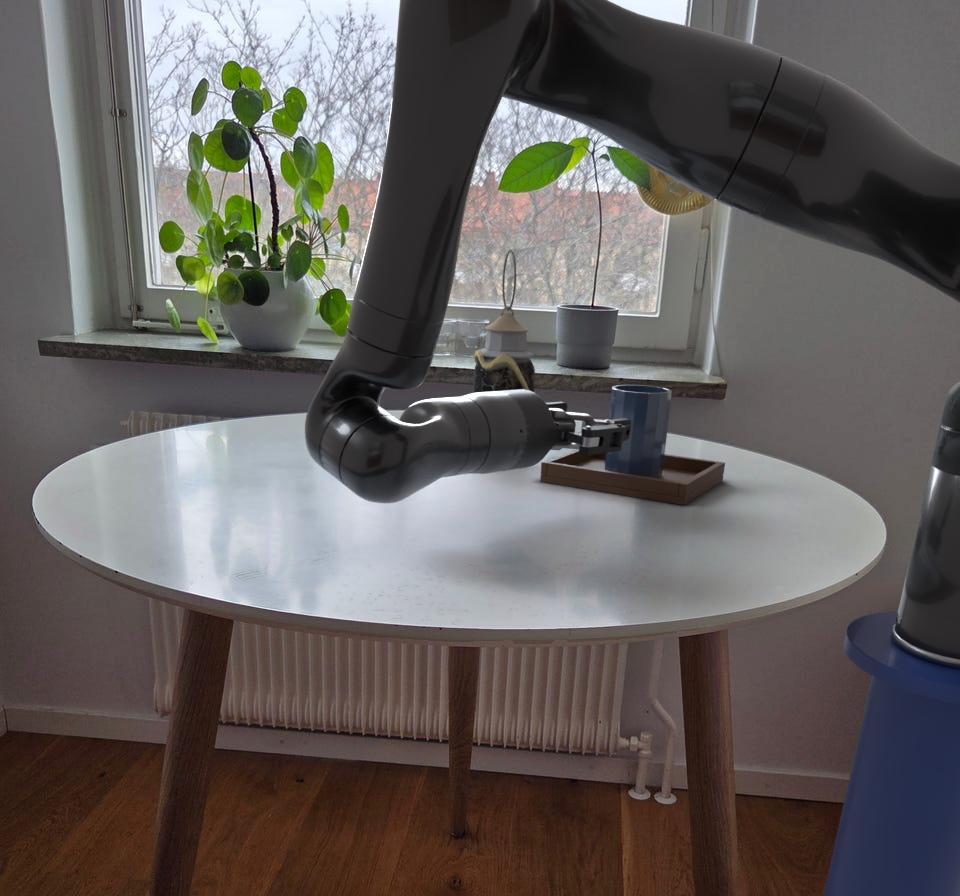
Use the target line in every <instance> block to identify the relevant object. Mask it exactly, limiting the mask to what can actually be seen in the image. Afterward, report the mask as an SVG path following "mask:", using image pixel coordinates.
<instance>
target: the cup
mask: <svg viewBox="0 0 960 896" xmlns="http://www.w3.org/2000/svg"><path fill="white" fill-rule="evenodd" d="M610 392H611V394H610V403H609V404H610V405H609V413H608V414H609V415H608V417H609V418H608V420H613V419H622V418H625V419H629V420H631V424H632V427H631V433H630V438H629V439H627V440H626V441H623V443H622V448H621V451H617V452H609V453H606V458H605V471H611V472H618V473H624V474H631V475H637V476H644V477H650V478H657V479H660V478H661V477H662V472H663V464H664V455H665V454H666V446H667V437H668V427H669V419H670V413H671V412H670V411H671V403H672V393H673V391H672V390H671V389H669V388H667V387H661V386H657V385H655V386H654V385H643V384H619V385H617V384H616V385H613V386H611V391H610Z"/></svg>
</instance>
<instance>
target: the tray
mask: <svg viewBox="0 0 960 896" xmlns="http://www.w3.org/2000/svg"><path fill="white" fill-rule="evenodd" d="M605 458H606V453H601V454H593V455H587V456H584V455H582V454H580V453H579V449H573V450H570V451H568V452H566V453H563V454H560V455H557V456H555V457H552V458H549V459H547V460H544V461H541V464H540V465H541V466H540V480H539V481H540V482H541V483H548V484H553V485H558V486H559V485H560V486H565V487H572V488H577V489H584V490H590V491H596V492H603V493H608V494H614V495H620V496H625V497H632V498H636V499H637V498H639V499H644V500H648V501H649V500H650V501H656V502H662V503H668V504H674V505H680V506H686V505H687V504H689V503H690V502H691V501H693V500H695V499H696V498H698V497H700V496H701V495H703V494H704V493H706V492H708V491H709V490H711V489H713V487H715V486H717V485H719V484H720V483H722V482H723V481H724V474H725V467H726V462H723V461H716V460H709V459H702V458H696V457H690V456H689V457H688V456H681V455H674V454H666V453H665V455H664V464H663V472H662V477H661V478H660V479H657V478H650V477H644V476H637V475H631V474H624V473H618V472H611V471H605Z"/></svg>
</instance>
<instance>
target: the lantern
mask: <svg viewBox="0 0 960 896" xmlns="http://www.w3.org/2000/svg"><path fill="white" fill-rule="evenodd" d="M510 253H511V256H512V262H513V288H512V289H513V290H512V297H511V301H510V305H508V306H507V303H506V295H505V294H506V293H505V282H506V281H505V277H506V268H507V262H508V258H509V255H510ZM516 261H517V260H516V255H515V252H514V250H512V249H509V250H508V251H506V254H505V258H504V263H503V269H502V281H501V282H502V285H501V287H502V300H503V302H502V303H503V306H504V307H503V308H502V310H501V312H500V316H498V318H497V319H496V320H494V321H493V322H492V323H490V324H488V325H487V326H485V327H484V329H485V330H486V336H485V342H484V343H485V344H484V347H483V348H481V349H478V350H475V352H474V354H473V357H474V363H475V366H474V373H473V374H474V375H473V389H472V390H473V391H472V393H477V392H490V391H503V390H518V389H525V390H530V391H532V392H534V393H535V382H536V381H535V376H536V369H535V365H534V363H533V361H532V360H531V358H534V357H535V355H534V354H533V353H532V352H530V351H528V341H527V340H528V338H527V333H528V332H529V331H530V330H529V328H527V327H525V326H524V325H523V324H522V323H520V321H519V320H518V319H517V318H516V317H515V311H514V309H513V308H512V307H513V305H514V301H515V296H516V289H517V288H516V287H517V262H516ZM505 310H506V311H505ZM509 311H510V312H509Z"/></svg>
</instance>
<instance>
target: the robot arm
mask: <svg viewBox="0 0 960 896" xmlns="http://www.w3.org/2000/svg"><path fill="white" fill-rule="evenodd" d="M397 19H398V20H397V31H396V44H395V57H394V60H395V61H394V72H393V84H392V96H391V106H390V114H389V120H388V121H389V122H388V130H387V137H386V144H385V150H384V158H383V165H382V169H381V175H380V180H379V185H378V191H377V195H376V201H375V206H374V209H373V214H372V218H371V223H370V227H369V232H368V236H367V241H366V243H365V244H366V245H365V248H364V249H365V250H364V253H363V257H362V261H361V267H360V270H359V272H358V273H359V274H358V279H357V281H356V285H355V289H354V290H355V291H354V295H353V299H352V304H351V308H350V312H349V317H348V321H347V326H346V329H345V330H346V331H345V334H344V339H343V342H342V345H341V347H340V349H339V350H338V352H337V354H336V355H335V357H334V359H333V361H332V362H331V364H330V366H329V368H328V370H327V372H326V374H325V376H324V378H323V380H322V382H321V383H320V385H319V387H318V389H317V391H316V392H315V394H314V396H313V398H312V400H311V403H310V405H309V407H308V409H307V413H306V416H305V420H304V421H305V422H304V441H305V446H306V449H307V453H308V454H309V456H310V458H312V460H313V461H314V462H315V464H317V465H318V466H319V467H321V468H322V469H323V470H324V471H326V472H327V473H328V474H330V475H331V476H332V477H333V478H334V479H336V480H337V481H338V482H340V484H342V485H343V486H345V487H346V488H347V489H348V490H350V491H351V492H352V493H353V494H354V495H356V496H357V497H358V498H361V499H363V500H365V501H367V502H370V503H376V504H395V503H398V502H401V501H403V500H405V499H407V498H409V497H411V496H412V495H414V494H416V493H417V492H419V491H421V490H423V489H425V488H427V487H428V486H431V484H433V483H435V482H437V481H438V480H440V479H441V478H442V479H443V478H449V477H455V476H462V475H469V474H470V475H471V474H472V475H477V474H478V475H485V474H491V473H498V472H505V471H511V470H517V469H524V468H529V467H533V466H535V465H537V464H539V463H540V462H542V461H543V460H544V459H545V457H546V456H547V455H548V453H550V451H561V450H562V449H566V450H567V449H569V450H576V449H579V453H580V454H582V455H584V456H587V455H593V454H601V453H609V452H617V451H621V448H622V443H623V441H626V440H627V439H629V438H630V433H631V427H632V424H631V420H629V419H625V418H622V419H613V420H609V418H608V419H596V418H594V417H593V416H592V415H590V414H588V413H585V412H573V411H568V404H567V403H566V402H563V401H551V402H546V401H545V399H543V398H542V397H541V396H540V395H539V394H538V393H536V392H535V391H534V392H532V391H530V390H525V389H518V390H503V391H490V392H477V393H473V392H471V393H467V394H464V395H458V396H446V397H435V398H433V397H432V398H427V399H422V400H419V401H415V402H414V403H412V404H411V405H408V407H406V409H405V410H404V411H403V412H402V414H401V415H400V417H399V418H397V417H396V416H394V414H392V413H390V412H389V411H387V410H386V409H385V408H383V407H382V406H380V402H381V398H382V395H383V393H384V391H385V389H387V390H393V391H411V390H414V389H416V388H418V387H420V386H421V385H422V384H423V383H424V382H425V380H426V378H427V376H428V375H429V371H430V369H431V365H432V362H433V359H434V356H435V352H436V349H437V346H438V345H437V344H438V342H439V338H440V335H441V331H442V327H443V325H444V321H445V317H446V313H447V309H448V306H449V301H450V297H451V293H452V288H453V285H454V280H455V273H456V268H457V263H458V262H457V261H458V255H459V249H460V242H461V236H462V235H461V234H462V230H463V229H462V228H463V222H464V218H465V212H466V206H467V200H468V196H469V193H470V189H471V184H472V181H473V176H474V173H475V170H476V166H477V163H478V159H479V157H480V153H481V150H482V148H483V145H484V142H485V139H486V137H487V134H488V131H489V129H490V126H491V124H492V122H493V119H494V117H495V115H496V113H497V110H498V109H499V106H500V104H501V101H502V99H506V100H511V101H515V102H518V103H521V104H525V105H527V106H532V107H533V108H537V109H540V110H543V111H546V112H548V113H553V114H554V115H558V116H561V117H564V118H566V119H570V120H572V121H574V122H577V123H580V124H582V125H584V126H586V127H588V128H590V129H593V130H595V131H597V132H598V133H600V134H601V135H603V136H605V137H606V138H608V139H610V140H611V141H613V142H614V143H616V144H617V145H618V146H620V147H622V148H623V149H625V150H626V151H628V152H629V153H631V154H632V155H634V156H635V157H637V158H638V159H640V160H641V161H643V162H644V163H646V164H647V165H649V166H651V167H652V168H654V169H655V170H657V171H659V172H660V173H661V174H664V175H665V176H667V177H669V178H670V179H672V180H673V181H676V182H677V183H678V184H681V185H683V186H685V187H686V188H689V189H691V190H692V191H694V192H696V193H698V194H700V195H702V196H704V197H706V198H708V199H710V200H715V201H716V202H718V203H720V204H722V205H725V206H727V207H730V208H732V209H734V210H736V211H739V212H741V213H743V214H746V215H748V216H750V217H752V218H754V219H757V220H760V221H762V222H764V223H768V224H771V225H774V226H776V227H779V228H782V229H784V230H787V231H789V232H792V233H795V234H798V235H801V236H803V237H806V238H809V239H813V240H816V241H819V242H822V243H825V244H828V245H832V246H836V247H838V248H842V249H846V250H849V251H854V252H857V253H860V254H864V255H867V256H870V257H873V258H876V259H878V260H880V261H883V262H886V263H888V264H889V265H891V266H894V267H896V268H898V269H900V270H902V271H904V272H906V273H908V274H909V275H911V276H913V277H915V278H917V279H918V280H920V281H922V282H924V283H926V284H927V285H929V286H931V287H932V288H935V290H937V291H940V292H941V293H943V294H945V295H946V296H948V297H949V298H951V299H953V300H955V301H956V302H958V303H959V304H960V163H959V162H957V161H954V160H951V159H949V158H947V157H945V156H943V155H941V154H939V153H938V152H936V151H934V150H933V149H931V148H929V147H928V146H926V145H925V144H923V143H922V142H921V141H919V140H918V139H917V138H916V137H914V136H913V135H912V134H911V133H910V132H908V131H907V130H906V129H905V128H904V127H903V126H902V125H900V124H899V123H898V122H897V121H896V120H895V119H893V118H892V117H891V116H890V115H888V114H887V112H885V111H884V110H882V108H880V107H878V106H877V105H876V104H875V103H874V102H872V101H871V100H870V99H868V98H867V97H866V96H864V95H863V94H861V93H860V92H858V91H857V90H855V89H854V88H852V87H850V86H849V85H847V84H846V83H843V82H841V81H840V80H837V79H836V78H834V77H833V76H830V75H828V74H825V73H823V72H821V71H819V70H816V69H814V68H812V67H809V66H808V65H805V64H803V63H800V62H798V61H796V60H794V59H792V58H789V57H787V56H784V55H781V54H780V53H778V52H775V51H773V50H770V49H768V48H764V47H761V46H759V45H756V44H753V43H751V42H748V41H744V40H741V39H738V38H735V37H731V36H728V35H726V34H725V35H724V34H722V33H718V32H713V31H710V30H707V29H702V28H698V27H694V26H689V25H685V24H681V23H675V22H671V21H666V20H662V19H658V18H654V17H650V16H647V15H644V14H640V13H638V12H635V11H632V10H630V9H627V8H625V7H622V6H621V5H618V4H616V3H614V2H612V1H610V0H399V7H398V18H397ZM576 421H581V428H580V432H579V431H576V426H577V424H576ZM925 486H926V487H925V491H924V494H923V499H922V504H921V508H920V512H919V517H918V522H917V526H916V530H915V534H914V539H913V543H912V548H911V552H910V556H909V561H908V564H907V565H908V566H907V570H906V574H905V578H904V583H903V587H902V592H901V596H900V602H899V605H898V609H897V611H896V612H897V615H896V622H895V624H894V626H893V630H892V634H891V639H892V641H893V643H894V644H895V645H896V646H897V647H898V648H900V649H901V650H903V651H904V652H906V653H908V654H910V655H912V656H914V657H916V658H919V659H922V660H924V661H927V662H930V663H933V664H937V665H940V666H944V667H949V668H953V669H959V670H960V380H959V381H958V382H956V383H955V384H953V385H952V387H951V388H950V389H949V391H948V393H947V396H946V399H945V403H944V408H943V412H942V416H941V420H940V425H939V429H938V433H937V437H936V441H935V446H934V451H933V455H932V459H931V464H930V469H929V473H928V477H927V482H926V485H925Z"/></svg>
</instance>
